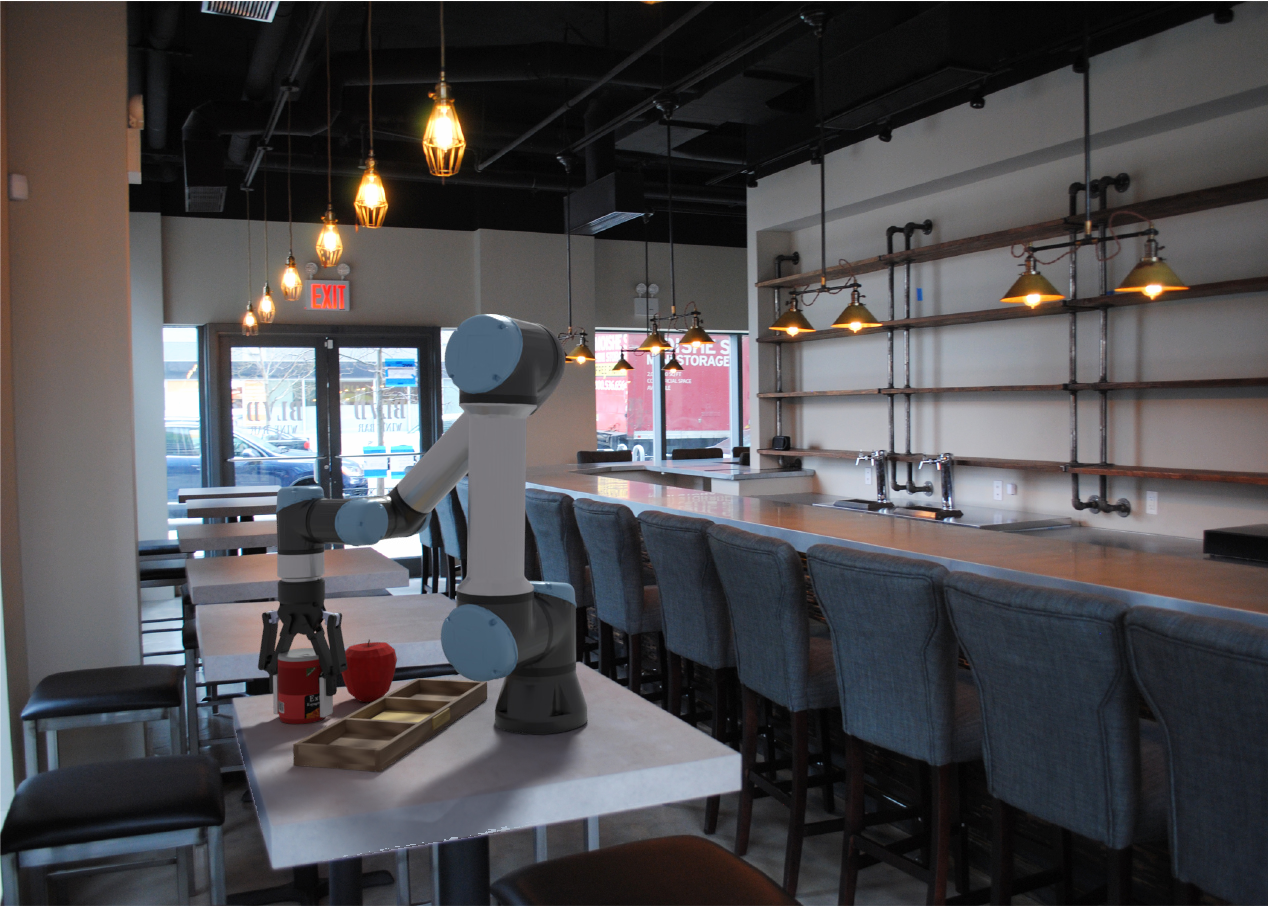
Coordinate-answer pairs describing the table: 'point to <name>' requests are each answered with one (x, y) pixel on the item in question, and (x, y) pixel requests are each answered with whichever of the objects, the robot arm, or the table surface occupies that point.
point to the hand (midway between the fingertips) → (303, 713)
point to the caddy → (390, 725)
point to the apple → (369, 670)
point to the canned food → (299, 686)
